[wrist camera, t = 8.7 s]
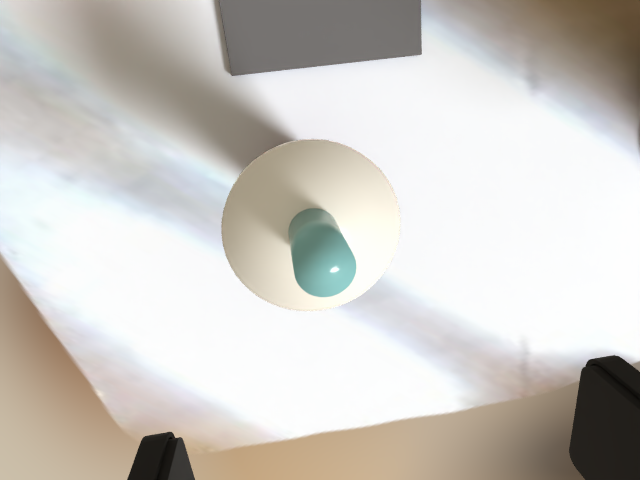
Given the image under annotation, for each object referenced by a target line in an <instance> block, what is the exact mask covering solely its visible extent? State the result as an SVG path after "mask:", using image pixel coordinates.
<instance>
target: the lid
mask: <svg viewBox="0 0 640 480" xmlns="http://www.w3.org/2000/svg"><path fill="white" fill-rule="evenodd" d="M399 234H400V211H399V206H398V202H397V198H396V196H395V193H394V191H393V188H392V186H391V185H390V183H389V181H388V179H387V178H386V176H385V175H384V174H383V173H382V171H381V170H380V169H379V168H378V167H377V166H376V165H375V164H374V163H373V162H372V161H371V160H369V159H368V158H367V157H365V156H364V155H362V154H361V153H360V152H358V151H356V150H354V149H352V148H350V147H348V146H346V145H343V144H340V143H338V142H333V141H329V140H322V139H302V140H296V141H291V142H287V143H284V144H281V145H278V146H276V147H274V148H272V149H270V150H268V151H266V152H265V153H263V154H262V155H260V156H259V157H257V158H256V159H255V160H254V161H252V162H251V163H250V164H249V165H248V166H247V167H246V168H245V169H244V170H243V172H242V173H241V174H240V175H239V177H238V178H237V180H236V181H235V183H234V184H233V186H232V189H231V191H230V193H229V195H228V198H227V201H226V204H225V207H224V211H223V217H222V241H223V247H224V250H225V254H226V257H227V259H228V261H229V264H230V266H231V268H232V269H233V271H234V273H235V274H236V276H237V277H238V278H239V279H240V281H241V282H242V283H243V284H244V285H245V286H246V287H247V288H248V289H249V290H250V291H251V292H253V293H254V294H255V295H257V296H258V297H260V298H261V299H263V300H265V301H267V302H269V303H271V304H274V305H276V306H279V307H282V308H286V309H290V310H297V311H318V310H325V309H330V308H334V307H337V306H340V305H343V304H345V303H347V302H349V301H351V300H353V299H355V298H357V297H358V296H360V295H361V294H363V293H364V292H365V291H367V290H368V289H369V288H371V287H372V286H373V285H374V284H375V283H376V282H377V281H378V280H379V278H380V277H381V276H382V274H383V273H384V272H385V271H386V269H387V267H388V266H389V264H390V262H391V260H392V258H393V256H394V253H395V251H396V248H397V244H398V240H399Z"/></svg>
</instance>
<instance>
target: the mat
mask: <svg viewBox="0 0 640 480" xmlns="http://www.w3.org/2000/svg"><path fill="white" fill-rule="evenodd" d="M219 3H220V9H221V14H222V20H223V26H224V32H225V38H226V44H227V49H228V55H229V61H230V67H231V73H232V76H235V75H244V74H253V73H262V72H271V71H280V70H289V69H298V68H307V67H316V66H325V65H334V64H343V63H352V62H361V61H369V60H378V59H387V58H396V57H405V56H414V55H421V54H422V49H421V0H219Z"/></svg>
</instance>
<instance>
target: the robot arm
mask: <svg viewBox="0 0 640 480" xmlns="http://www.w3.org/2000/svg"><path fill="white" fill-rule="evenodd" d="M569 453H570V458H571V460H572V462H573V464H574V466H575V467H576V469H577V470H578V471H579V472H580V473H581V475H582V476H583V477H584V478H585V480H640V372H639V371H638V370H636V369H635V368H634V367H633V366H631V365H630V364H629V363H627V362H626V361H625V360H624V359H622V358H620V357H619V356H615V355H613V356H607V357H601V358H595V359H590V360H589V361H588V362H587V364H586V367H584V368H583V369H582V371H581V377H580V383H579V390H578V396H577V403H576V409H575V416H574V422H573V429H572V435H571V442H570V448H569ZM127 480H195V478H194V475H193V471H192V468H191V465H190V462H189V458H188V455H187V451H186V448H185V444H184V441H183V439H182V438H181V437H179V438H175V436H174V434H173V433H172V432H167V433H161V434H155V435H149V436H145V437H144V438H143V439H142V441H141V443H140V446H139V448H138V452H137V454H136V457H135V460H134V463H133V465H132V468H131V471H130V474H129V477H128V479H127Z"/></svg>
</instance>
